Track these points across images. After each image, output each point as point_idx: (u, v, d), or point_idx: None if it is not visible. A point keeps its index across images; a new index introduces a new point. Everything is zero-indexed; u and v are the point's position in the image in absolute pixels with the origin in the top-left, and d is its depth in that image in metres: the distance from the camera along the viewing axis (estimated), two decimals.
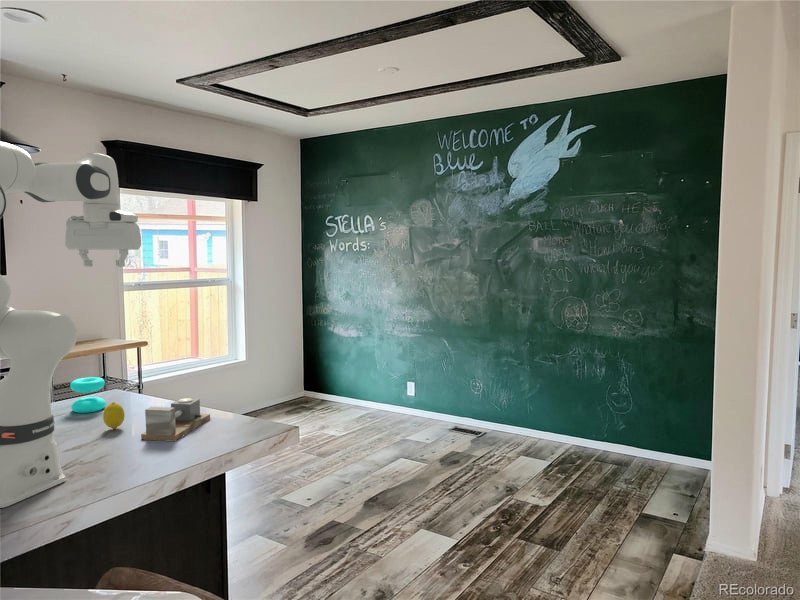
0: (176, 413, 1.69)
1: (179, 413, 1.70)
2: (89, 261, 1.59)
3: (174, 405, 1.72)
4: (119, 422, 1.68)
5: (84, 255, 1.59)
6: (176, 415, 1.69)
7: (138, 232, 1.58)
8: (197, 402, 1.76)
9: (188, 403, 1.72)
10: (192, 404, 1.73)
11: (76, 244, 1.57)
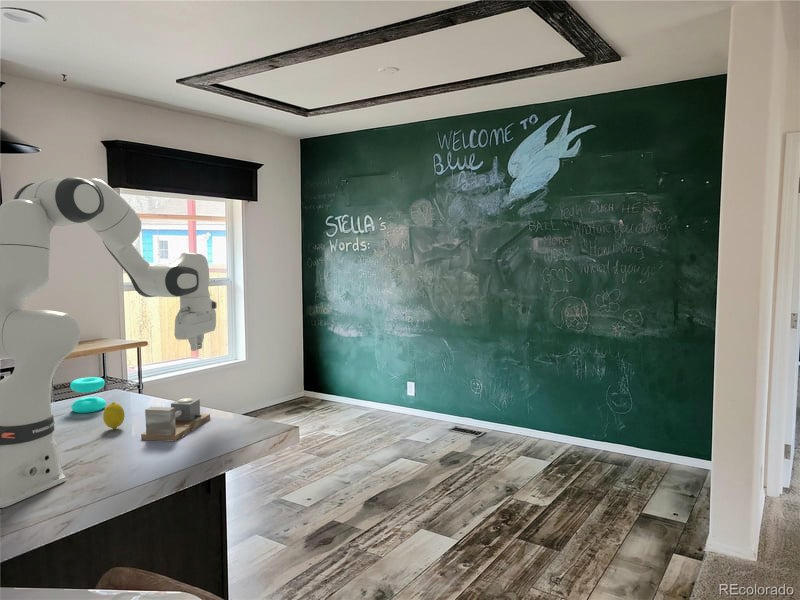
0: (176, 413, 1.69)
1: (179, 413, 1.70)
2: None
3: (174, 405, 1.72)
4: (119, 422, 1.68)
5: None
6: (176, 415, 1.69)
7: None
8: (197, 402, 1.76)
9: (188, 403, 1.72)
10: (192, 404, 1.73)
11: (191, 333, 1.74)
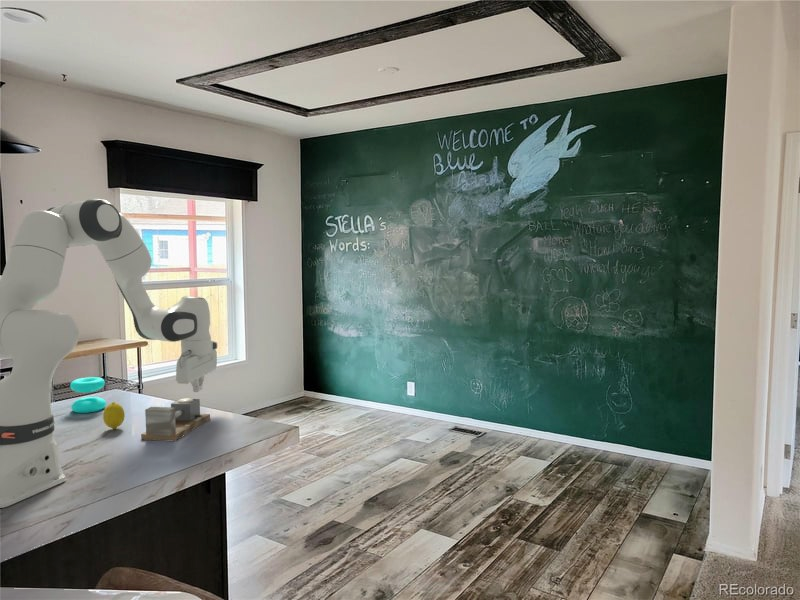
0: (176, 413, 1.69)
1: (179, 413, 1.70)
2: None
3: (174, 405, 1.72)
4: (119, 422, 1.68)
5: None
6: (176, 415, 1.69)
7: None
8: (197, 402, 1.76)
9: (188, 403, 1.72)
10: (192, 404, 1.73)
11: (192, 377, 1.76)
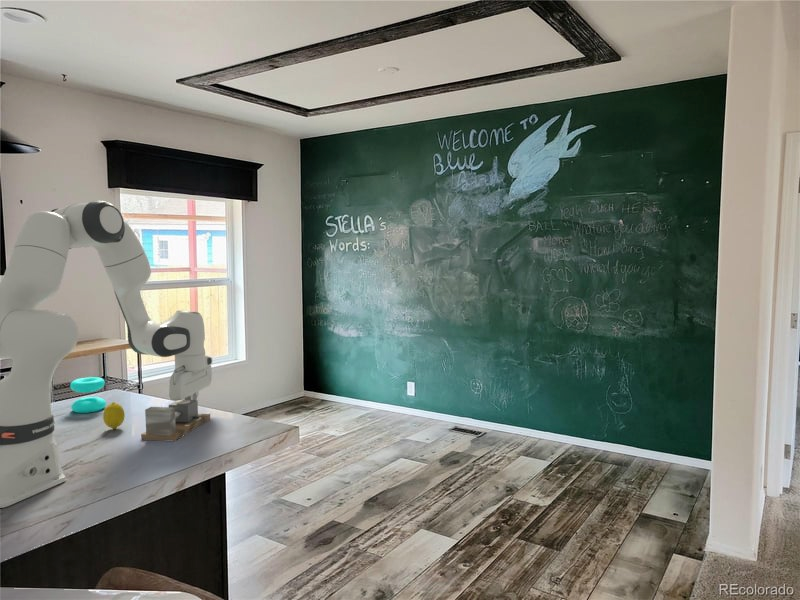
0: None
1: (177, 414, 1.68)
2: None
3: (172, 406, 1.71)
4: (119, 422, 1.68)
5: None
6: None
7: None
8: (195, 403, 1.74)
9: (186, 404, 1.71)
10: (190, 405, 1.71)
11: (186, 393, 1.71)
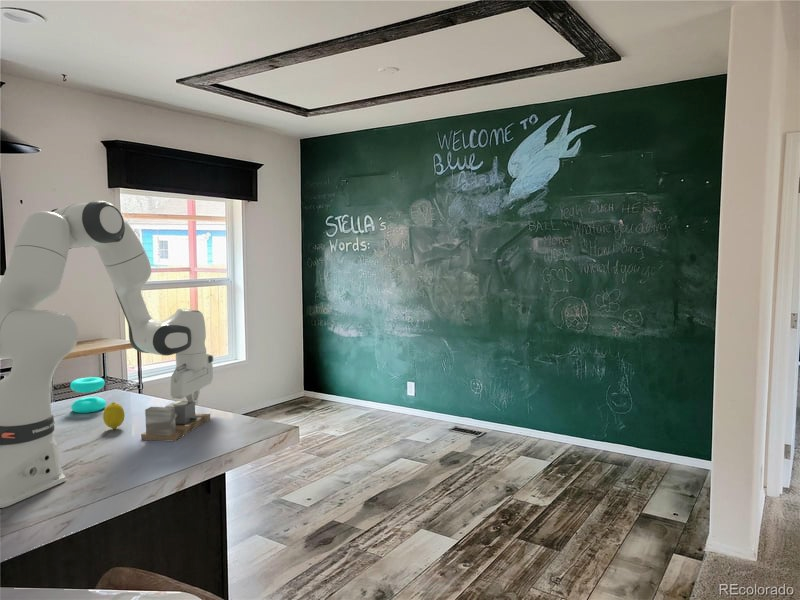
0: None
1: None
2: None
3: None
4: (119, 422, 1.68)
5: None
6: None
7: None
8: (192, 405, 1.73)
9: (183, 406, 1.69)
10: (187, 407, 1.70)
11: (187, 392, 1.72)
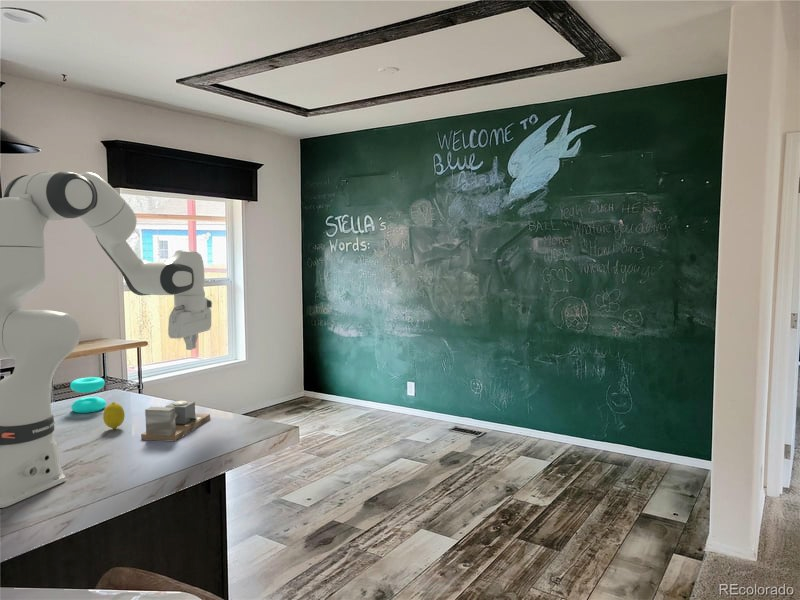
0: None
1: None
2: None
3: None
4: (119, 422, 1.68)
5: None
6: None
7: None
8: (192, 405, 1.73)
9: (183, 406, 1.69)
10: (187, 407, 1.70)
11: (185, 332, 1.70)
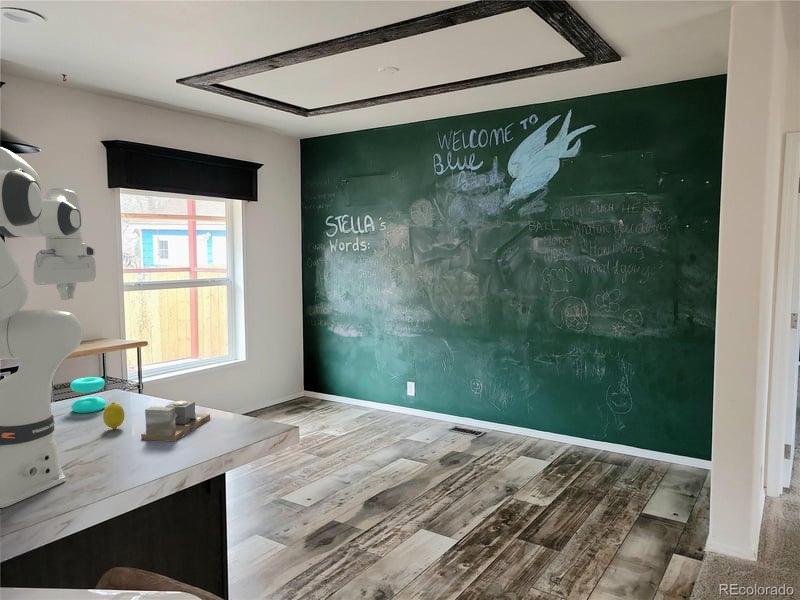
0: None
1: None
2: None
3: None
4: (119, 422, 1.68)
5: None
6: None
7: None
8: (192, 405, 1.73)
9: (183, 406, 1.69)
10: (187, 407, 1.70)
11: (55, 279, 1.54)
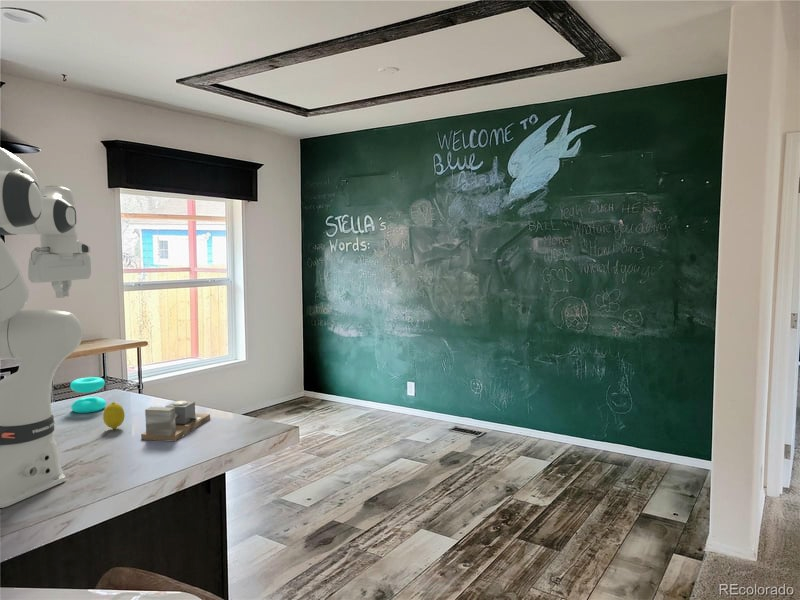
0: None
1: None
2: None
3: None
4: (119, 422, 1.68)
5: None
6: None
7: None
8: (192, 405, 1.73)
9: (183, 406, 1.69)
10: (187, 407, 1.70)
11: (50, 277, 1.53)
